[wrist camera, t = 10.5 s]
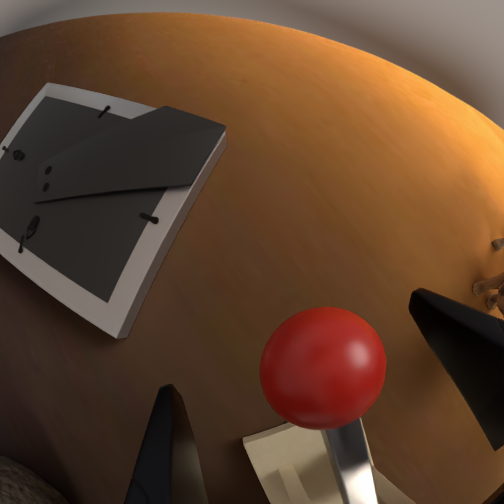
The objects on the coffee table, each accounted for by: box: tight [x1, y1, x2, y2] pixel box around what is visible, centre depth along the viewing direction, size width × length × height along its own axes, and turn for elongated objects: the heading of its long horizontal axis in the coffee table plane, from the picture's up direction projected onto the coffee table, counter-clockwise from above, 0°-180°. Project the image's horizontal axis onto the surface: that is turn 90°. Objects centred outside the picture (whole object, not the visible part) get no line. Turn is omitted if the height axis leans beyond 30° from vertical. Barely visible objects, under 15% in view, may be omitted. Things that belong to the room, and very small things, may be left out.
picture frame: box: [0, 83, 226, 339], centre depth 19 cm, size 16×3×21 cm
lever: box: [260, 307, 386, 504], centre depth 7 cm, size 14×4×4 cm, turn 19°
